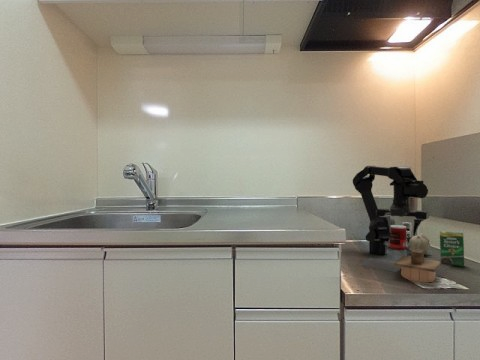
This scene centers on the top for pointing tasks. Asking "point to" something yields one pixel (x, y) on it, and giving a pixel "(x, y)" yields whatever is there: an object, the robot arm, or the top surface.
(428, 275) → the bowl
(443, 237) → the coffee box
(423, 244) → the garlic bulb
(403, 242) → the canned food
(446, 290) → the top surface
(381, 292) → the top surface
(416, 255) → the lid
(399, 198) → the robot arm
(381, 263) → the mat
